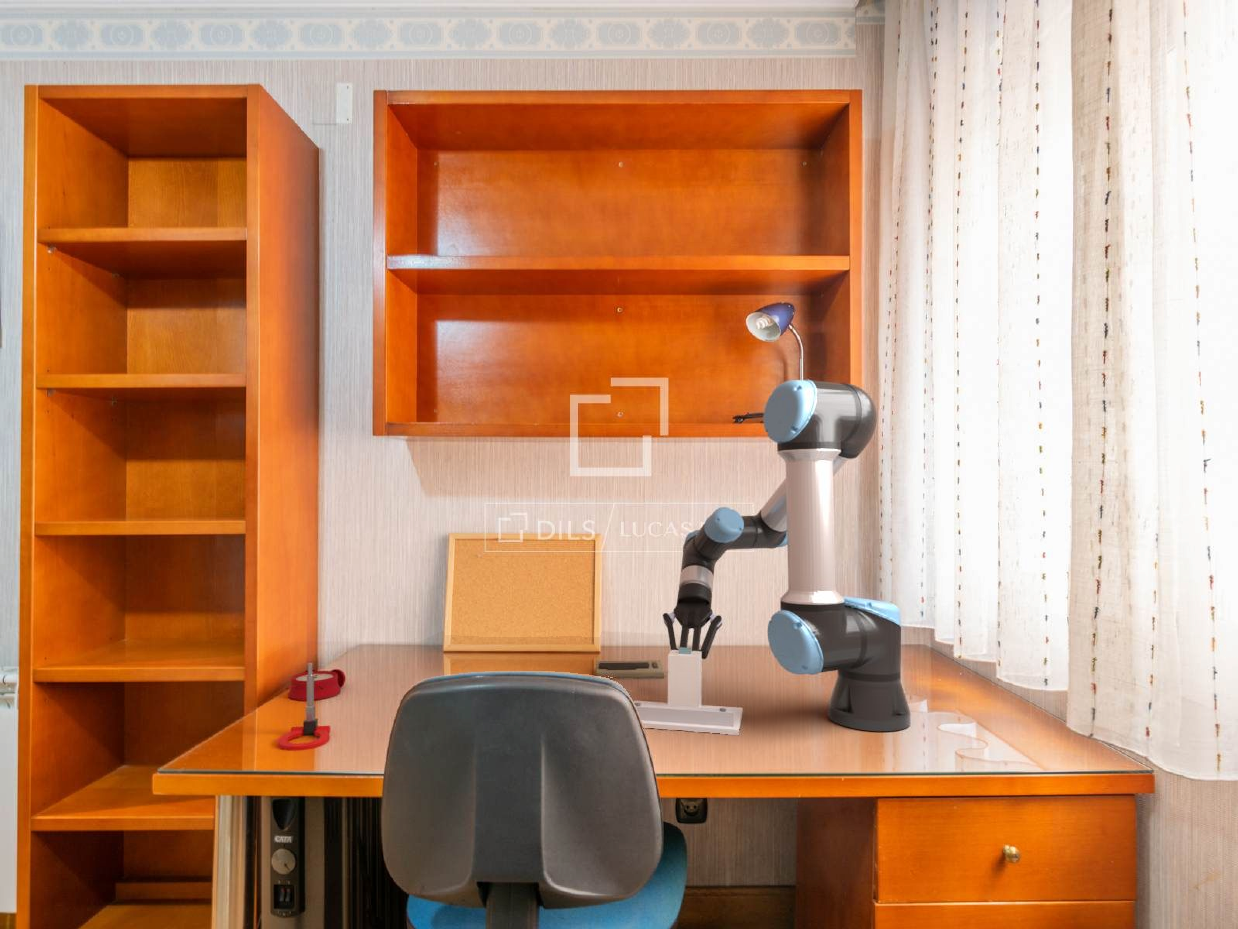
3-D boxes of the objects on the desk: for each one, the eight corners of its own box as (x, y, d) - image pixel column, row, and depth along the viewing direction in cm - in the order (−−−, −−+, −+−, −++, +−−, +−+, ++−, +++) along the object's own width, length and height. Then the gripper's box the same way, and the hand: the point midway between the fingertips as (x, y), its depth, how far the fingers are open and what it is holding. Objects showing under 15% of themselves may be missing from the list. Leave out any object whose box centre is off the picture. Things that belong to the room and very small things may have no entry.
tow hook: (322, 752, 133) (335, 732, 142) (322, 677, 132) (335, 661, 142) (270, 754, 132) (287, 734, 141) (270, 678, 131) (287, 662, 141)
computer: (596, 681, 180) (596, 667, 180) (595, 672, 188) (595, 658, 188) (664, 681, 181) (664, 666, 181) (660, 672, 189) (660, 658, 189)
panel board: (742, 712, 155) (742, 693, 155) (738, 735, 141) (738, 714, 141) (633, 705, 159) (633, 686, 160) (619, 726, 146) (619, 706, 146)
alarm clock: (277, 685, 160) (304, 653, 175) (280, 713, 161) (306, 679, 176) (329, 685, 161) (351, 653, 175) (331, 713, 162) (353, 679, 176)
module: (701, 707, 155) (701, 646, 155) (698, 714, 150) (698, 651, 151) (671, 705, 156) (671, 644, 157) (667, 712, 152) (667, 650, 152)
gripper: (725, 602, 175) (719, 698, 159) (668, 600, 178) (655, 694, 161) (723, 581, 170) (716, 678, 154) (664, 580, 173) (651, 674, 156)
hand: (685, 686), depth 158 cm, fingers closed
